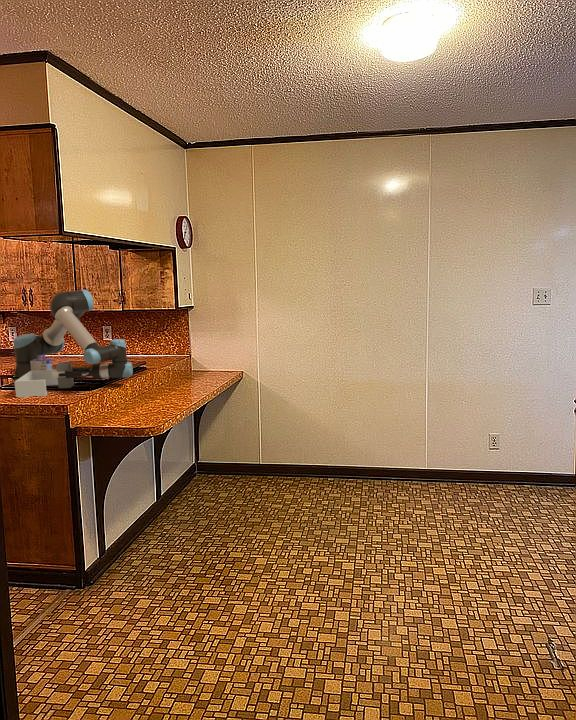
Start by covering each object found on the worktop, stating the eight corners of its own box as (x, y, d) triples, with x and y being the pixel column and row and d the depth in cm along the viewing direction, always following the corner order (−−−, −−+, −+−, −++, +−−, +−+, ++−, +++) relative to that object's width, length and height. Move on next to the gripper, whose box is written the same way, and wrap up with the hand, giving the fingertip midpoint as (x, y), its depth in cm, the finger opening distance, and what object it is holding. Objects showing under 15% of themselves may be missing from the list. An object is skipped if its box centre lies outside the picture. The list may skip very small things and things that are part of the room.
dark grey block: (61, 385, 320) (59, 362, 318) (73, 384, 320) (71, 361, 318) (58, 388, 314) (55, 364, 312) (70, 387, 314) (68, 364, 312)
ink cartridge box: (54, 380, 338) (51, 354, 335) (48, 383, 332) (45, 356, 329) (38, 380, 340) (35, 354, 337) (32, 383, 334) (28, 356, 331)
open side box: (32, 385, 328) (30, 370, 326) (60, 384, 329) (58, 369, 327) (16, 397, 304) (14, 381, 303) (46, 396, 305) (44, 380, 304)
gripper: (97, 382, 308) (49, 385, 307) (105, 374, 327) (60, 376, 325) (96, 367, 307) (47, 370, 305) (104, 360, 325) (58, 362, 324)
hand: (54, 373), depth 315 cm, fingers closed on dark grey block, 6 cm apart
